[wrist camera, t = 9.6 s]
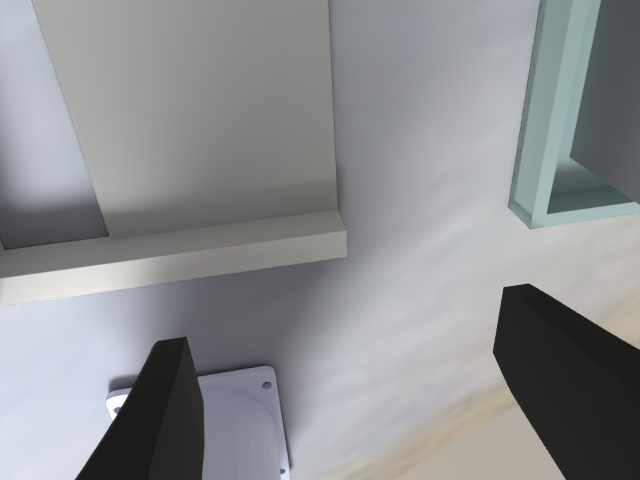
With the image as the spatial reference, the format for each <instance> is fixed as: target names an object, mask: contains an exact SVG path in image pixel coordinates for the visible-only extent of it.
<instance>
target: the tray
mask: <svg viewBox="0 0 640 480" xmlns="http://www.w3.org/2000/svg"><path fill="white" fill-rule="evenodd" d="M600 2H601V0H541V1H540V8H539V14H538V20H537V27H536V33H535V40H534V46H533V52H532V59H531V65H530V71H529V78H528V84H527V91H526V97H525V103H524V110H523V116H522V122H521V129H520V135H519V142H518V148H517V154H516V161H515V167H514V173H513V180H512V186H511V193H510V199H509V205H508V208H509V209H510V210H511V211H512V212H513V213H514V214H515V215H516V216H517V217H518V218H519V219H520V220H521V221H522V222H523V223H524V224H525V225H526V226H527V227H528V228H529V229H534V228H541V227H548V226H555V225H562V224H569V223H576V222H583V221H590V220H597V219H604V218H611V217H618V216H625V215H632V214H639V213H640V205H639V204H638V203H636V202H635V201H633V200H632V199H630V198H629V197H627V196H626V195H624V194H623V193H621V192H620V191H618V190H617V189H616V188H614V187H613V186H611V185H610V184H608V183H607V182H605V181H604V180H602V179H601V178H599V177H598V176H596V175H595V174H593V173H592V172H590V171H589V170H587V169H586V168H584V167H583V166H581V165H580V164H579V163H577V162H576V161H574V160H573V159H571V158H570V152H571V147H572V142H573V137H574V132H575V127H576V122H577V117H578V112H579V107H580V102H581V97H582V92H583V87H584V82H585V77H586V72H587V67H588V62H589V57H590V52H591V47H592V42H593V37H594V32H595V27H596V22H597V17H598V12H599V7H600Z"/></svg>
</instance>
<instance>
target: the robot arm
mask: <svg viewBox="0 0 640 480" xmlns="http://www.w3.org/2000/svg"><path fill="white" fill-rule="evenodd" d="M493 354H494V356H495V358H496V361H497V363H498V365H499V367H500V370H501V372H502V374H503V376H504V378H505V380H506V383H507V385H508V387H509V389H510V391H511V393H512V394H513V396H514V398H515V399H516V401H517V403H518V404H519V406H520V407H521V409H522V411H523V412H524V414H525V415H526V417H527V419H528V420H529V422H530V423H531V425H532V427H533V428H534V429H535V431H536V433H537V434H538V436H539V438H540V439H541V441H542V442H543V444H544V446H545V447H546V449H547V450H548V452H549V453H550V455H551V457H552V458H553V460H554V461H555V463H556V464H557V466H558V468H559V469H560V471H561V473H562V474H563V476H564V477H565V479H566V480H640V350H639V349H637V348H636V347H634V346H632V345H630V344H629V343H627V342H625V341H623V340H622V339H620V338H618V337H616V336H615V335H613V334H611V333H610V332H608V331H606V330H605V329H603V328H601V327H600V326H598V325H596V324H595V323H593V322H592V321H590V320H588V319H587V318H585V317H583V316H582V315H580V314H579V313H577V312H575V311H574V310H572V309H570V308H569V307H567V306H566V305H564V304H562V303H561V302H559V301H558V300H556V299H554V298H553V297H551V296H549V295H548V294H546V293H544V292H543V291H541V290H539V289H538V288H536V287H534V286H532V285H531V284H522V285H516V286H509V287H504V288H503V294H502V300H501V306H500V312H499V318H498V324H497V330H496V336H495V342H494V348H493ZM264 382H269V383H264ZM106 406H107V408H108V411H109V413H110V415H111V418H112V420H113V422H112V424H111V425H110V427H109V429H108V430H107V432H106V433H105V435H104V437H103V438H102V440H101V441H100V443H99V444H98V446H97V447H96V449H95V450H94V452H93V453H92V455H91V456H90V458H89V460H88V461H87V463H86V464H85V466H84V467H83V469H82V470H81V472H80V473H79V474H78V476H77V477H76V479H75V480H291V474H290V468H289V461H288V455H287V448H286V441H285V435H284V428H283V422H282V415H281V408H280V402H279V395H278V389H277V382H276V376H275V371H274V369H273V368H272V367H269V366H261V367H255V368H249V369H243V370H236V371H230V372H224V373H218V374H212V375H206V376H200V377H197V375H196V371H195V367H194V364H193V360H192V356H191V352H190V349H189V345H188V341H187V338H186V337H182V338H175V339H169V340H162V341H157V342H156V344H155V345H154V346H153V348H152V350H151V352H150V354H149V356H148V358H147V360H146V362H145V364H144V366H143V368H142V370H141V372H140V374H139V376H138V378H137V380H136V381H135V383H134V385H133V387H132V388H127V389H121V390H115V391H112V392H110V393H109V394H108V395H107V398H106ZM119 407H121V408H119Z"/></svg>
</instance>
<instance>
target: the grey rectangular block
mask: <svg viewBox="0 0 640 480" xmlns="http://www.w3.org/2000/svg"><path fill="white" fill-rule="evenodd" d="M570 158H571V159H573V160H574V161H576V162H577V163H579V164H580V165H581V166H583V167H584V168H586V169H587V170H589V171H590V172H592V173H593V174H595V175H596V176H598V177H599V178H601V179H602V180H604V181H605V182H607V183H608V184H610V185H611V186H613V187H614V188H616V189H617V190H618V191H620V192H621V193H623V194H624V195H626V196H627V197H629V198H630V199H632V200H633V201H635V202H636V203H638V204H639V205H640V0H601V2H600V7H599V12H598V17H597V22H596V27H595V32H594V37H593V42H592V47H591V52H590V57H589V62H588V67H587V72H586V77H585V82H584V87H583V92H582V97H581V102H580V107H579V112H578V117H577V122H576V127H575V132H574V137H573V142H572V147H571V152H570Z"/></svg>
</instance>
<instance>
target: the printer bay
mask: <svg viewBox="0 0 640 480" xmlns="http://www.w3.org/2000/svg"><path fill="white" fill-rule="evenodd" d="M31 1H32V4H33V7H34V10H35V13H36V16H37V19H38V22H39V25H40V28H41V31H42V35H43V38H44V41H45V44H46V47H47V50H48V53H49V56H50V59H51V62H52V65H53V68H54V71H55V74H56V77H57V80H58V83H59V86H60V89H61V92H62V95H63V98H64V101H65V104H66V107H67V110H68V113H69V116H70V119H71V122H72V125H73V128H74V131H75V134H76V137H77V140H78V143H79V146H80V149H81V152H82V155H83V158H84V161H85V164H86V167H87V170H88V173H89V176H90V179H91V182H92V185H93V188H94V192H95V195H96V198H97V201H98V204H99V207H100V210H101V213H102V216H103V219H104V222H105V225H106V228H107V231H108V234H109V236H108V237H100V238H93V239H85V240H78V241H70V242H62V243H55V244H47V245H40V246H32V247H25V248H17V249H10V250H5V249H4V247H3V245H2V243H1V240H0V307H2V306H9V305H16V304H23V303H30V302H37V301H44V300H51V299H58V298H64V297H71V296H78V295H85V294H92V293H99V292H106V291H113V290H120V289H127V288H134V287H141V286H148V285H155V284H162V283H169V282H176V281H183V280H190V279H197V278H203V277H210V276H217V275H224V274H231V273H238V272H245V271H252V270H259V269H266V268H273V267H280V266H287V265H294V264H301V263H308V262H315V261H322V260H329V259H336V258H342V257H348V255H347V230H346V228H345V226H344V223H343V221H342V218H341V216H340V213H339V211H338V200H337V179H336V157H335V136H334V114H333V93H332V72H331V50H330V29H329V7H328V0H31Z"/></svg>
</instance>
